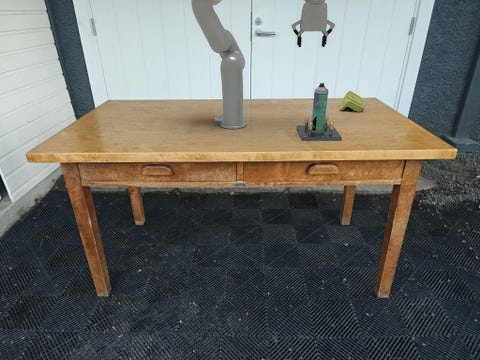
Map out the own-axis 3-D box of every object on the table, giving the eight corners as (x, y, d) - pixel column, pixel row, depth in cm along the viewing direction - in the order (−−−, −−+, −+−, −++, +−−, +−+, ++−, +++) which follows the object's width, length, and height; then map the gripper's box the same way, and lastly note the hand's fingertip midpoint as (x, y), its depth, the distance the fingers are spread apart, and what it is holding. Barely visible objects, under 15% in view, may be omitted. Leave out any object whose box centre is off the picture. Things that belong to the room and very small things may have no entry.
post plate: (302, 140, 131) (303, 125, 128) (296, 128, 145) (297, 114, 142) (341, 140, 130) (343, 125, 128) (331, 128, 145) (333, 114, 142)
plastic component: (363, 108, 166) (347, 99, 166) (355, 120, 170) (339, 111, 171) (362, 97, 182) (347, 89, 182) (355, 108, 187) (340, 100, 187)
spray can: (321, 128, 140) (326, 81, 131) (325, 132, 135) (330, 84, 126) (309, 129, 139) (313, 82, 130) (312, 133, 135) (317, 84, 125)
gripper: (294, -1, 120) (291, 48, 128) (340, -2, 120) (334, 47, 128) (291, 0, 127) (289, 46, 135) (335, -1, 127) (330, 46, 134)
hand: (311, 46), depth 131 cm, fingers open, 9 cm apart
